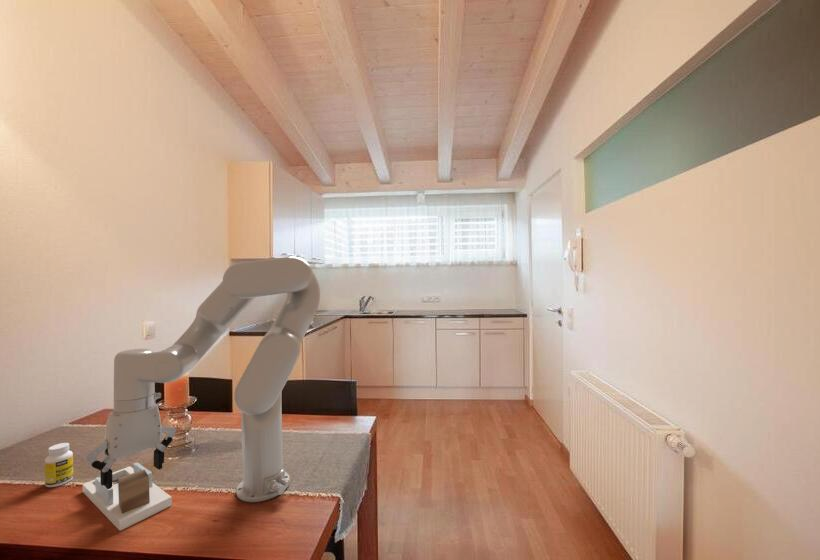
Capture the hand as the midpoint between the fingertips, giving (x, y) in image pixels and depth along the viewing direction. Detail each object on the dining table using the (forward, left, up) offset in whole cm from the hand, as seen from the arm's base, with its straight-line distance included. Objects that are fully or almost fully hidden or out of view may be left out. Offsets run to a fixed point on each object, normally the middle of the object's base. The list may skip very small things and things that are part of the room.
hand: (134, 476), depth 82 cm
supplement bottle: (+32, +6, -8) cm, 34 cm away
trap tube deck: (+8, -1, -8) cm, 11 cm away
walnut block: (0, 0, -6) cm, 6 cm away
